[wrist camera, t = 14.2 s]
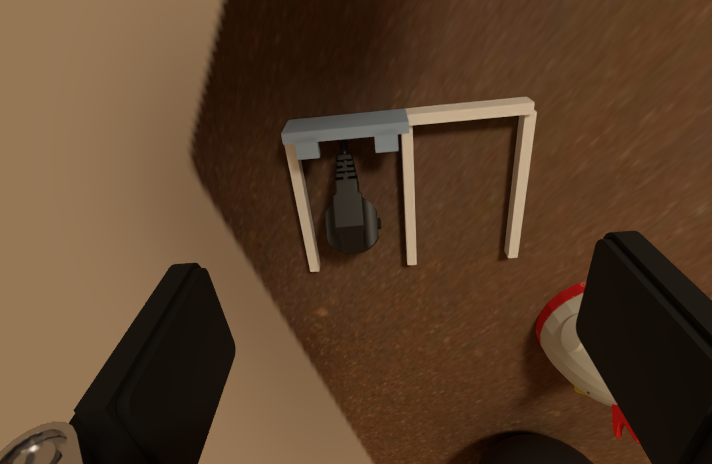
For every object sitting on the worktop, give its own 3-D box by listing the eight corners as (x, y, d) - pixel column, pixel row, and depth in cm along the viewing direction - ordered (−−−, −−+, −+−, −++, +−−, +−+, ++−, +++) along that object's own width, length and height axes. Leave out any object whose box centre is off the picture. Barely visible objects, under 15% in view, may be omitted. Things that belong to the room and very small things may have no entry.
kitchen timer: (513, 323, 52) (560, 435, 39) (611, 257, 46) (704, 364, 34) (575, 371, 57) (636, 485, 44) (672, 317, 51) (773, 431, 38)
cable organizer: (283, 120, 38) (275, 134, 35) (532, 96, 37) (549, 108, 33) (312, 264, 47) (307, 286, 44) (513, 249, 46) (524, 271, 42)
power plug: (371, 121, 38) (382, 251, 37) (374, 143, 45) (383, 251, 44) (311, 128, 38) (321, 256, 37) (324, 148, 46) (332, 255, 45)
